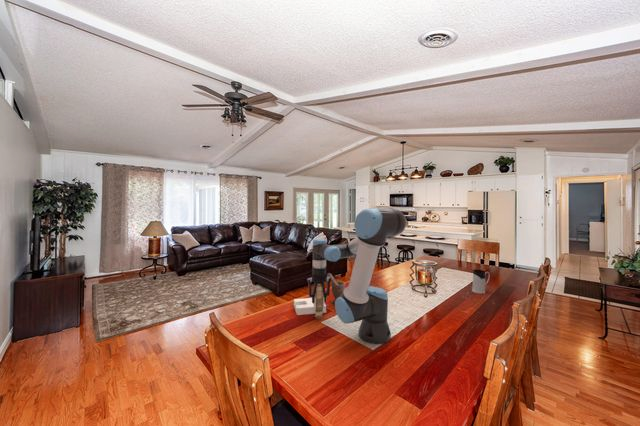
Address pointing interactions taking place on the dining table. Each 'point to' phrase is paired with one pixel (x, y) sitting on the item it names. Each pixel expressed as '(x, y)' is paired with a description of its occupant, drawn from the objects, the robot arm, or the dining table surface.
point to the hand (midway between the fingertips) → (318, 308)
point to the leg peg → (319, 301)
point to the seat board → (305, 306)
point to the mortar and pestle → (336, 287)
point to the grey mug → (479, 281)
